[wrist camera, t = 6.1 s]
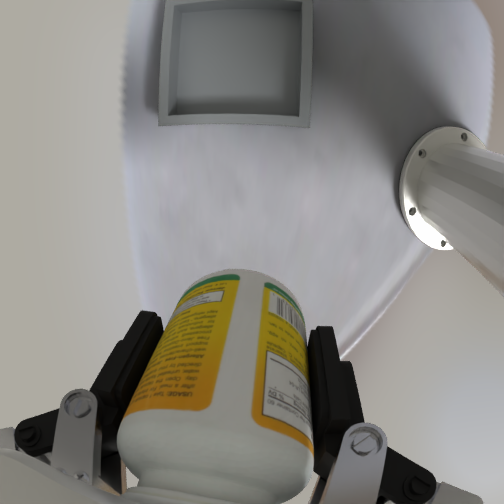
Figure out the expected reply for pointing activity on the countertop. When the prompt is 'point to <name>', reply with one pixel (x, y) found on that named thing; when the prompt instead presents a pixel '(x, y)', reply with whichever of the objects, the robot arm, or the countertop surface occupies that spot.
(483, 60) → the countertop surface
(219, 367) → the supplement bottle
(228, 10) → the tray
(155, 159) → the countertop surface
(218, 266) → the countertop surface
